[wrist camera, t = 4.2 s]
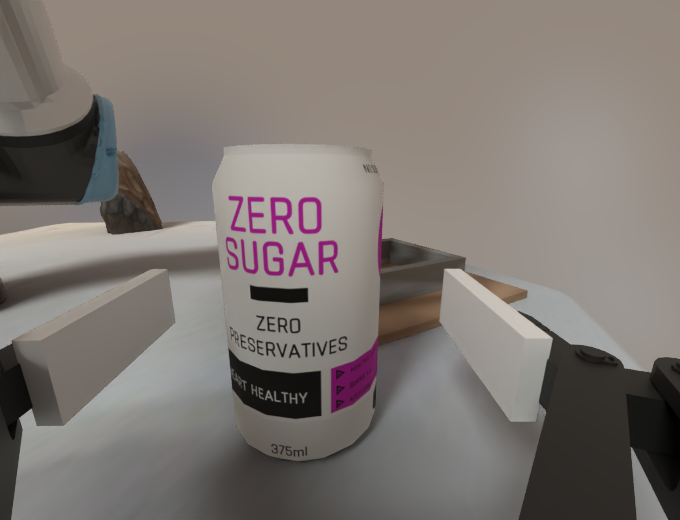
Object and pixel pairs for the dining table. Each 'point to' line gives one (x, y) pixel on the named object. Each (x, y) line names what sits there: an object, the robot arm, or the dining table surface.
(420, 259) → the collar board
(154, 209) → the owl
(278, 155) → the supplement can
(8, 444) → the robot arm
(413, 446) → the dining table surface
